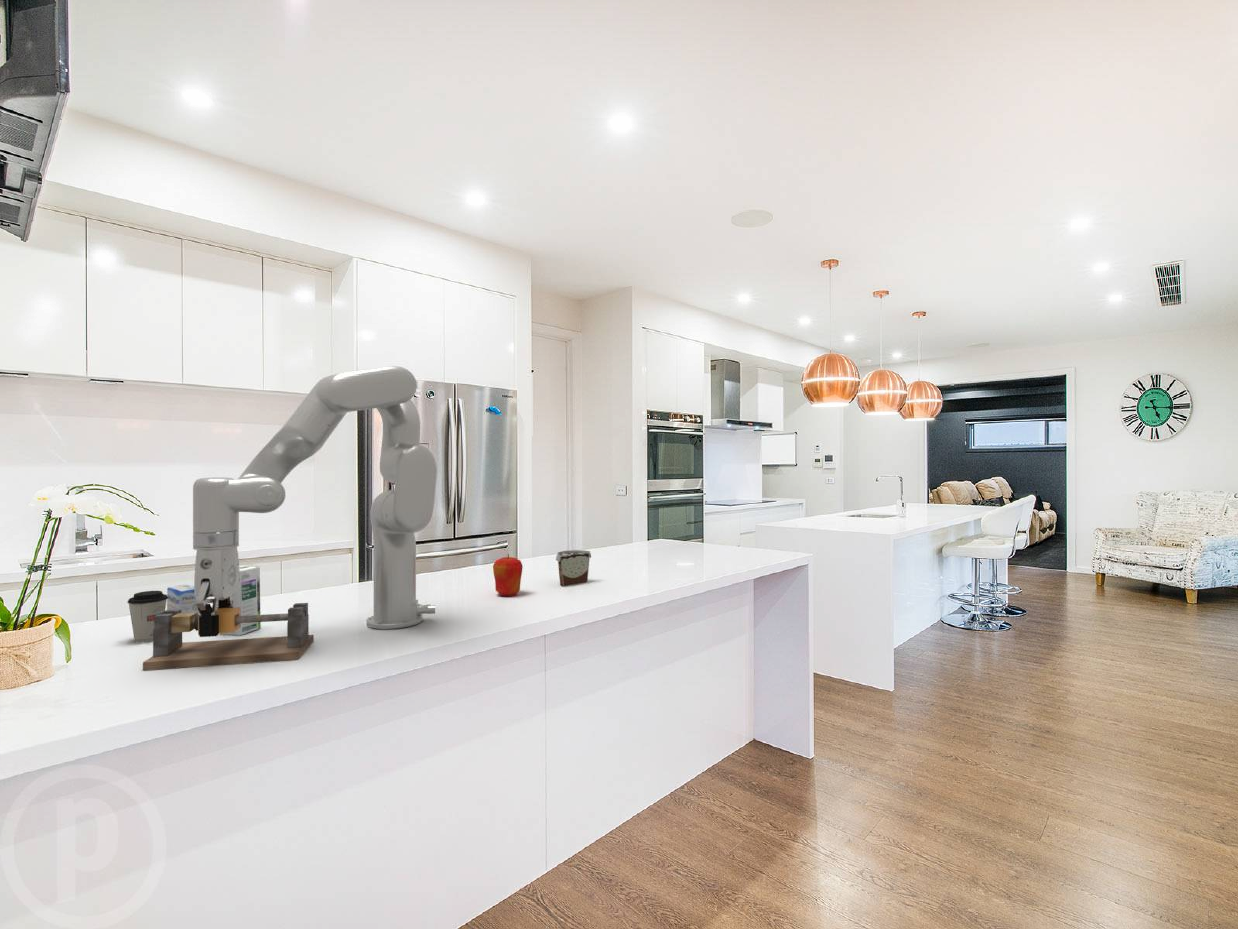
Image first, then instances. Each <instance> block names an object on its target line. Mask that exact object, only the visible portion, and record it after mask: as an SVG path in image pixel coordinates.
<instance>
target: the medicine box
mask: <svg viewBox="0 0 1238 929" xmlns="http://www.w3.org/2000/svg"><path fill="white" fill-rule="evenodd" d="M166 592H167V594H166V595H167V597H168V599H167V601H166V610H172V609H181V613H198V608H197V607H198V606H197V605H196V599H195V593H194V585H189V584H181V585H174V586H173V585H172V586H168V587H167V591H166Z"/></svg>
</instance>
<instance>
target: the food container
mask: <svg viewBox="0 0 1238 929" xmlns="http://www.w3.org/2000/svg"><path fill="white" fill-rule="evenodd" d="M590 558H592V553H591V551H590V550H583V549H581V550H580V549H574V550H562V551H558V552H557V554H556V558H555V561H557V564H558V575H559V576H558V577H559V585H560V587H563V588H565V587H571V586H576V585H582V584H583V585H584V584H588V583H589V582H588V581H589V570H590V568H589V567H590Z"/></svg>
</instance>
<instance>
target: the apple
mask: <svg viewBox="0 0 1238 929" xmlns="http://www.w3.org/2000/svg"><path fill="white" fill-rule="evenodd" d="M492 570H493V576H494V583H495V591H496V592H497V593H498V594H499V595H500V596H505V597H506V596H507V597H509V596H517V594H518V593H519V592H520V590H521V582H522V581H521V580H522V575H523V563H522V561H521V560H520V559H518V558H516V557H512V556H510V555H509V554H507V556H504V557H501V558H498V559H497V560H495V561H494V563H493V565H492Z"/></svg>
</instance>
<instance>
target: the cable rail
mask: <svg viewBox="0 0 1238 929" xmlns="http://www.w3.org/2000/svg"><path fill="white" fill-rule="evenodd" d="M309 616H310V615H309V602H299V603H297V602H296V603H294V604H293V605H292V606H291V607H289V608H288V609H287V613H271V614H269V613H268V614H260V615H249V616H235V623H252V622H261V623H265V622H267V623H268V622H269V623H270V622H283V621H286V622H287V623H286V626H287V627H286V628H287V633H286V634H287V635H286V636H272V637H271V636H269V637H268V636H267V637H254V638H252V637H251V638H238V639H220V640H219V639H218V640H205V641H204V640H203V641H200V640H199V641H187V642H183V633H190V632H192V631H194V630H195V631H196V632H198V613H181V609H172V610H167V609H165V611H164V612H163V614H158V615H156V616H154V629H153V641H152V656H151V657H149V658H148V659H146V660H144V661H143V662H142V671H154V670H155V671H156V670H168V669H172V670H173V669H184V668H185V669H186V668H197V667H200V668H202V667H210V666H211V667H212V666H213V667H215V666H225V665H226V666H227V665H242V664H244V665H245V664H257V663H273V662H285V661H298V660H300V658H301V657H302V656H303V655H304V654H305V653H306V651H308V649H309V648H310V647H311V645H312V644H313V643H314V642H315V634H310V631H309V628H310V626H309V625H310V624H309V623H310V622H309Z"/></svg>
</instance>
